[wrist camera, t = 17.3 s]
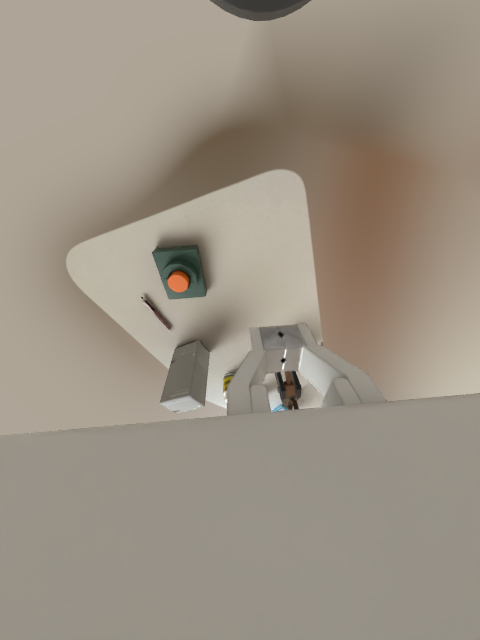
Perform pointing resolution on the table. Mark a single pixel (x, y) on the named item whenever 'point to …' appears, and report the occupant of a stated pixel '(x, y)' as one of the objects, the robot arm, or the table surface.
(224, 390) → the supplement bottle
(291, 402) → the clothes iron
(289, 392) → the power switch
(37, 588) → the robot arm
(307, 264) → the table surface
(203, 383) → the cosmetic box
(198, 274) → the control block
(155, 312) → the pen
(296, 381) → the switch bracket
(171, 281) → the button
